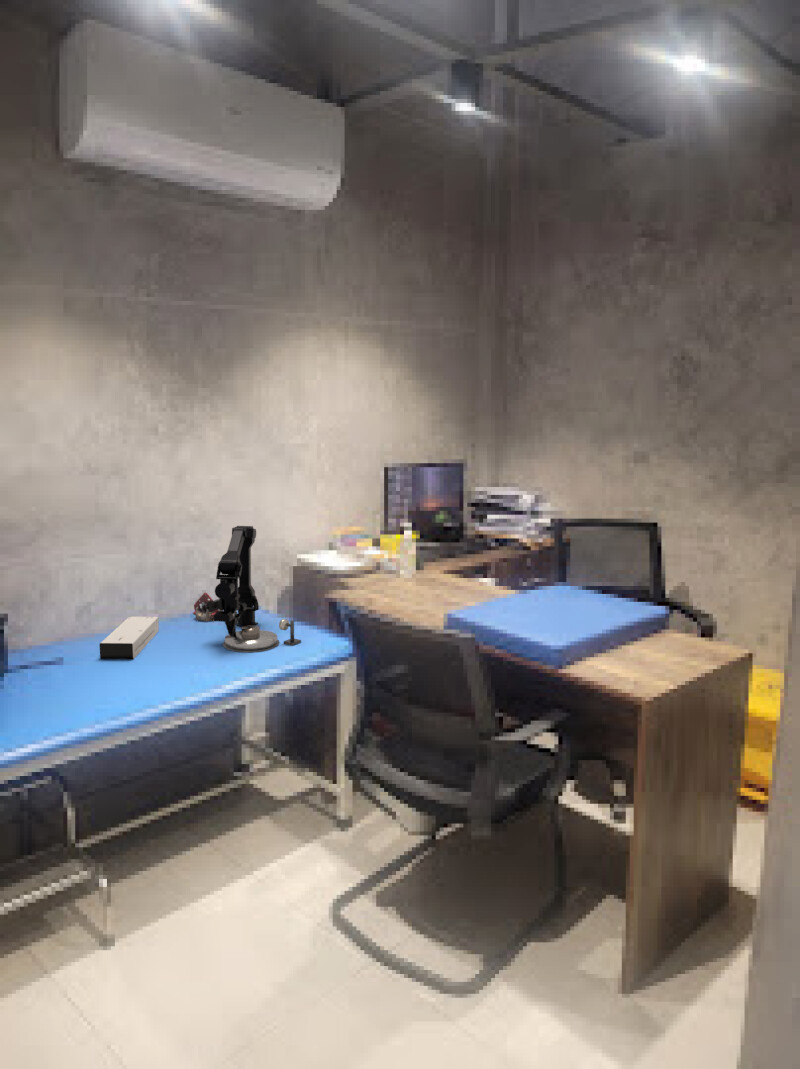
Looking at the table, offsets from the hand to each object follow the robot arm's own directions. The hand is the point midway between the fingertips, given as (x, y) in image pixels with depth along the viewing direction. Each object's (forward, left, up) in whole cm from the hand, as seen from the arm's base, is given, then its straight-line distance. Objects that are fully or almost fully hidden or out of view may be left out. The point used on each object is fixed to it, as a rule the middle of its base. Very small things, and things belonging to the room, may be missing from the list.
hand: (230, 634), depth 300 cm
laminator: (+23, -28, -4) cm, 36 cm away
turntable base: (-4, +6, -4) cm, 8 cm away
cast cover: (-4, +6, -1) cm, 7 cm away
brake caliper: (-18, -31, -4) cm, 36 cm away
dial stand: (-14, +18, -4) cm, 23 cm away
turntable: (-4, +6, -4) cm, 8 cm away
